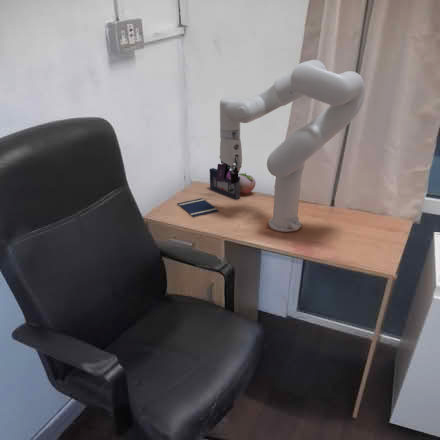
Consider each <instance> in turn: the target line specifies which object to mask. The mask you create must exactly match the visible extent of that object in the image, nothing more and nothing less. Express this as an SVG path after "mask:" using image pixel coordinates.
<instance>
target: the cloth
mask: <svg viewBox="0 0 440 440" xmlns="http://www.w3.org/2000/svg"><path fill="white" fill-rule="evenodd" d="M177 205H178V206H179V207H180V208H182V209H183V210H184V211H185V212H187V213H188V214H189V216H191V217H193V218H195V217H199V216H203V215H207V214H212V213H213V214H214V213H218V212H219V209H218V208H217V207H215V206H213V204H211V203H209V202H208V201H207V200H205V199H203V197H202V198H197V199H192V200H186V201H182V202H177Z"/></svg>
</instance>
